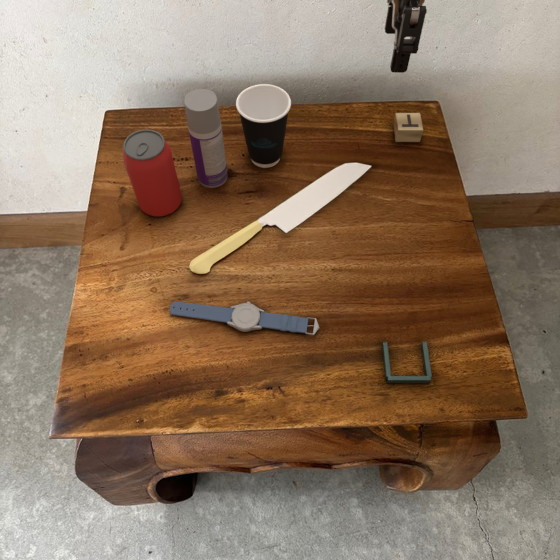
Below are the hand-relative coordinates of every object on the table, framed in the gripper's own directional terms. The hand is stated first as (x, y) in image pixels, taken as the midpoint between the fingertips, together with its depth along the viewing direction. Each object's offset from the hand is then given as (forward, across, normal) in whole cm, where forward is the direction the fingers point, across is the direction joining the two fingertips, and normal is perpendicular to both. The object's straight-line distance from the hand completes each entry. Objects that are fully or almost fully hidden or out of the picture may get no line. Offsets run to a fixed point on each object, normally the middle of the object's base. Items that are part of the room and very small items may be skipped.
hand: (394, 50), depth 76 cm
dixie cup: (+16, -5, +18) cm, 25 cm away
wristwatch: (+16, -34, +20) cm, 43 cm away
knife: (+16, -17, +15) cm, 28 cm away
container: (+16, -9, +26) cm, 32 cm away
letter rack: (+16, -40, 0) cm, 43 cm away
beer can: (+16, -14, +34) cm, 40 cm away
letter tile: (+16, +1, -5) cm, 17 cm away
